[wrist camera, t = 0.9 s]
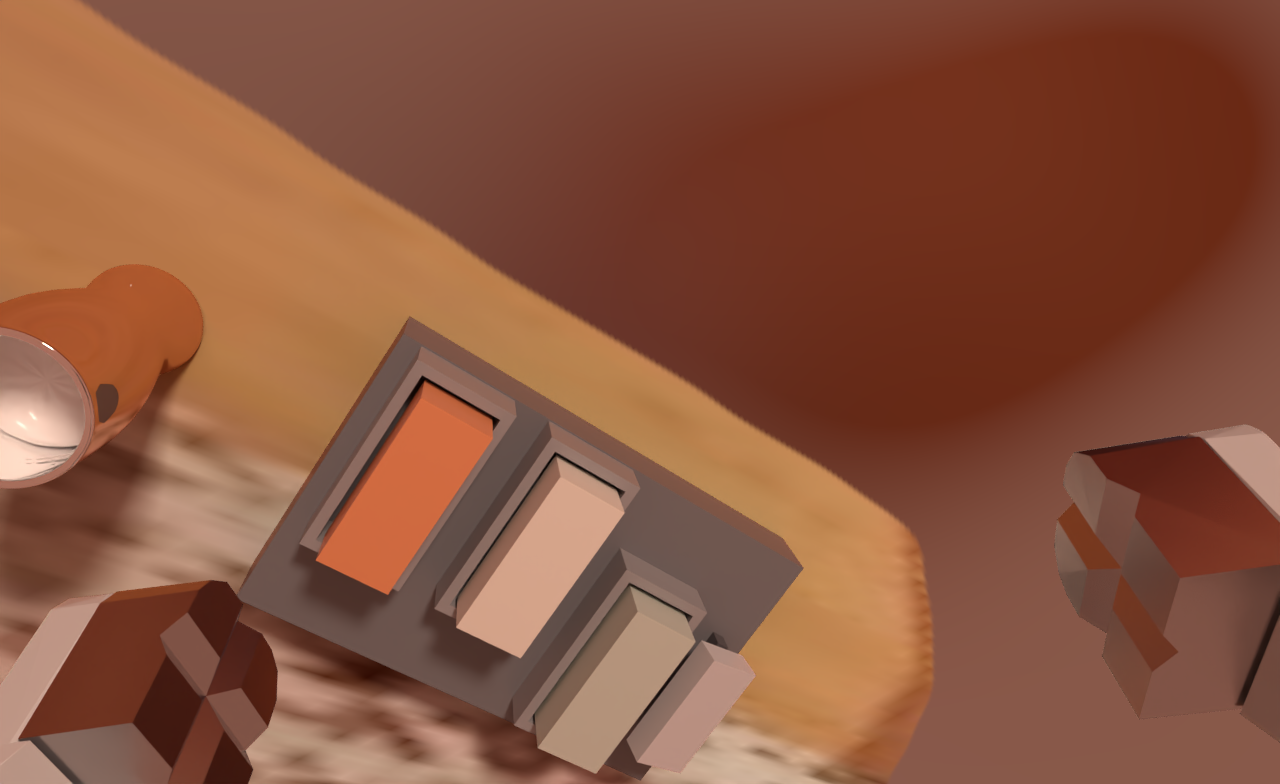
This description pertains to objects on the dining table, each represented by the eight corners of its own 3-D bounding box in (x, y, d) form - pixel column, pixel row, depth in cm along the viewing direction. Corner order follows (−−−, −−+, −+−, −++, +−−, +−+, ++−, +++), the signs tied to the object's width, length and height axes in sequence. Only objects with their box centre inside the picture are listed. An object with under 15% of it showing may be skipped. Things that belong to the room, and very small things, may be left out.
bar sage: (683, 612, 51) (695, 641, 48) (589, 738, 53) (596, 773, 50) (629, 583, 50) (637, 611, 47) (534, 713, 52) (537, 747, 49)
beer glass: (239, 346, 48) (138, 444, 34) (125, 402, 48) (-23, 524, 34) (162, 232, 46) (19, 287, 31) (42, 291, 45) (-154, 373, 31)
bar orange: (492, 418, 45) (492, 438, 43) (393, 566, 47) (387, 594, 44) (425, 379, 44) (421, 398, 41) (325, 532, 46) (315, 560, 43)
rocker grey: (742, 655, 54) (755, 675, 52) (668, 750, 55) (680, 773, 54) (701, 640, 52) (714, 660, 50) (626, 739, 53) (636, 762, 52)
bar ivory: (616, 489, 48) (624, 512, 45) (518, 627, 50) (520, 658, 47) (555, 454, 47) (560, 476, 44) (457, 597, 48) (455, 627, 46)
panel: (782, 538, 58) (818, 589, 52) (630, 739, 61) (647, 810, 54) (409, 316, 49) (399, 346, 43) (253, 563, 52) (222, 624, 46)
